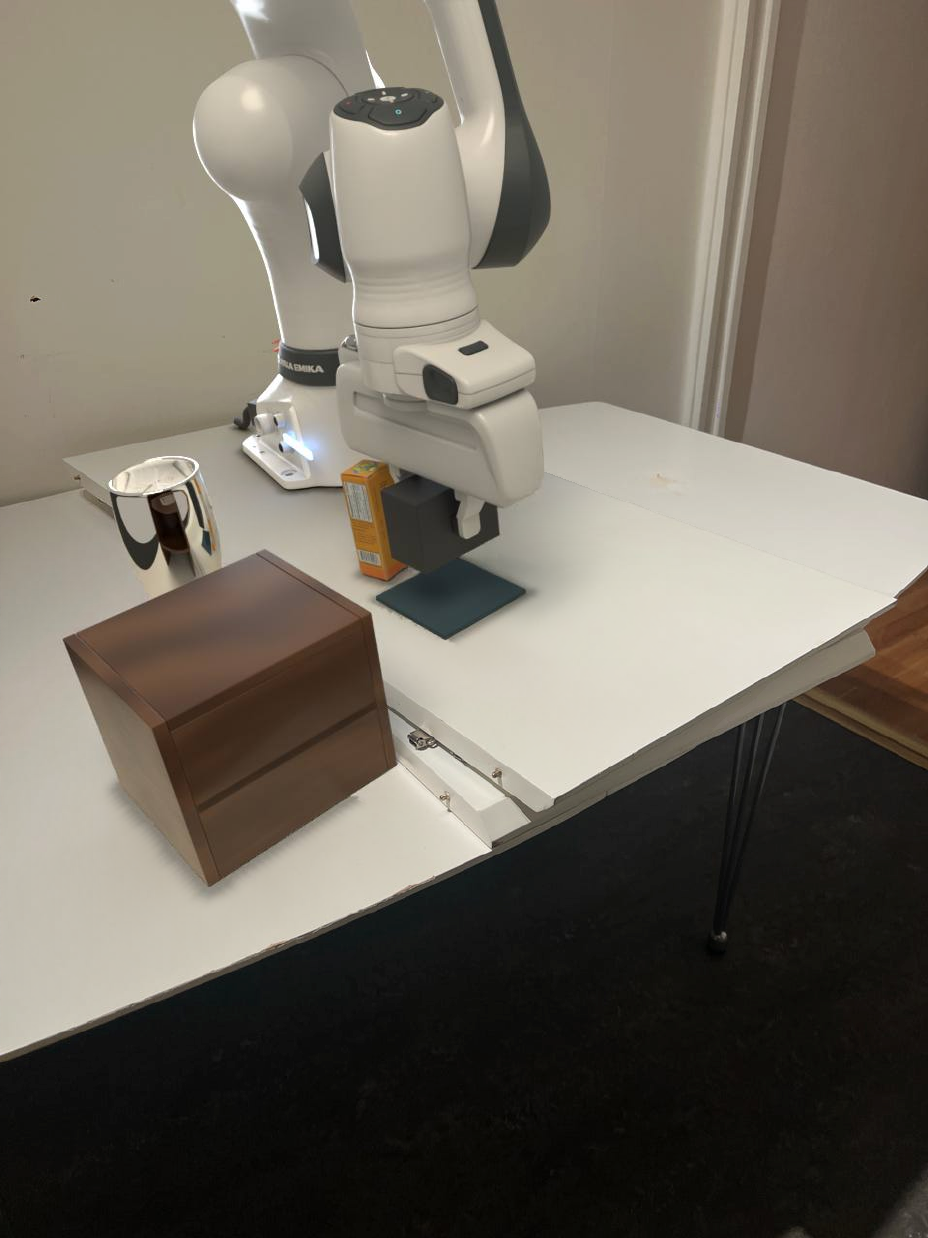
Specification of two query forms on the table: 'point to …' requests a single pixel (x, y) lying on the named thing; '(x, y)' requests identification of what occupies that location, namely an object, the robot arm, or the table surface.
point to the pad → (450, 597)
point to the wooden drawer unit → (238, 707)
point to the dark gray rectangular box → (429, 524)
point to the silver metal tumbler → (165, 522)
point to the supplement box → (370, 517)
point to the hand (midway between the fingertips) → (442, 523)
